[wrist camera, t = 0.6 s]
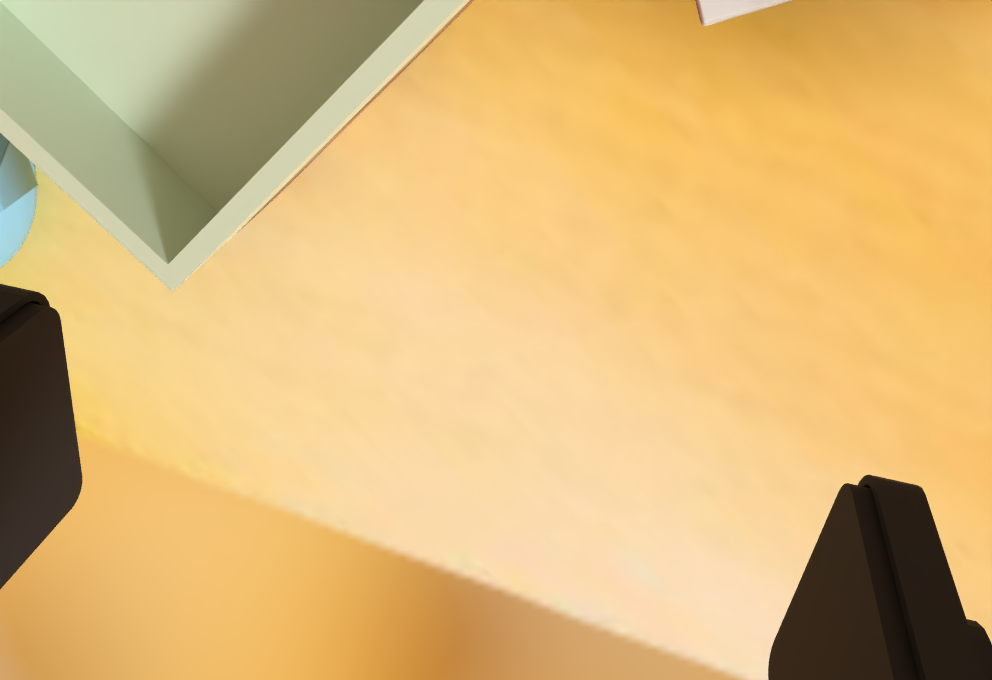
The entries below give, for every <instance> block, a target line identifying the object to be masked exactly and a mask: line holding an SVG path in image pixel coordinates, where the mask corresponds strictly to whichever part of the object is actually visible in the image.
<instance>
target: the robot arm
mask: <svg viewBox="0 0 992 680" xmlns="http://www.w3.org/2000/svg"><path fill="white" fill-rule="evenodd" d="M81 487H82V472H81V464H80V457H79V451H78V442H77V435H76V428H75V421H74V413H73V406H72V399H71V392H70V384H69V377H68V370H67V362H66V355H65V348H64V341H63V333H62V326H61V320H60V316H59V313H58V312H57V311H56V310H55V309H54V308H52V307H50V305H49V302H48V300H47V299H46V297H45V296H44V295H42V294H41V293H39V292H35V291H30V290H26V289H21V288H17V287H12V286H8V285H3V284H0V589H1V588H2V587H3V586H4V584H5V583H6V582H7V581H8V580H9V579H10V578H11V577H12V575H13V574H14V573H15V572H16V571H17V570H18V569H19V567H20V566H21V565H22V564H23V563H24V562H25V561H26V559H27V558H28V557H29V556H30V555H31V554H32V553H33V552H34V550H35V549H36V548H37V547H38V546H39V545H40V544H41V543H42V541H43V540H44V539H45V538H46V537H47V536H48V535H49V534H50V532H51V531H52V530H53V529H54V528H55V527H56V525H57V524H58V523H59V522H60V521H61V520H62V519H63V518H64V517H65V515H66V514H67V513H68V512H69V511H70V510H71V509H72V507H73V506H74V504H75V503H76V501H77V499H78V496H79V494H80V491H81ZM768 677H769V680H992V644H991V642H990V639H989V637H988V635H987V633H986V631H985V629H984V628H983V627H982V626H981V625H980V624H978V623H977V622H976V621H972V620H968V619H966V617H965V614H964V611H963V608H962V605H961V602H960V599H959V596H958V592H957V589H956V586H955V583H954V580H953V577H952V574H951V571H950V568H949V565H948V562H947V559H946V556H945V553H944V550H943V547H942V544H941V541H940V538H939V535H938V531H937V528H936V525H935V522H934V519H933V516H932V513H931V510H930V507H929V504H928V501H927V498H926V495H925V493H924V491H923V489H922V488H921V487H919V486H918V485H913V484H909V483H904V482H900V481H895V480H891V479H886V478H881V477H877V476H872V475H866V476H864V477H863V478H862V479H861V480H860V482H859V484H858V486H857V485H853V484H848V483H846V484H844V485H843V486H842V487H841V489H840V491H839V493H838V495H837V497H836V499H835V502H834V504H833V506H832V508H831V511H830V513H829V515H828V518H827V520H826V522H825V525H824V527H823V529H822V532H821V534H820V536H819V538H818V541H817V543H816V545H815V548H814V550H813V552H812V555H811V557H810V559H809V562H808V564H807V566H806V569H805V571H804V573H803V575H802V578H801V580H800V582H799V585H798V587H797V589H796V592H795V594H794V596H793V599H792V601H791V603H790V605H789V608H788V610H787V612H786V615H785V617H784V619H783V622H782V624H781V626H780V629H779V631H778V633H777V635H776V638H775V640H774V643H773V646H772V649H771V653H770V659H769V668H768Z"/></svg>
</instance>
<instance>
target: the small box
mask: <svg viewBox="0 0 992 680" xmlns="http://www.w3.org/2000/svg"><path fill="white" fill-rule="evenodd" d="M695 1H696V5H697V9H698V13H699V18H700V21H701V24H702V25H703V26H708V25H711V24H714V23H718V22H721V21H724V20H728V19H731V18H734V17H738V16H741V15H745V14H748V13H752V12H755V11H758V10H762V9H765V8H769V7H772V6H775V5H778V4H782V3H785V2H788V1H792V0H695Z"/></svg>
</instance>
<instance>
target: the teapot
mask: <svg viewBox="0 0 992 680" xmlns="http://www.w3.org/2000/svg"><path fill="white" fill-rule="evenodd" d="M37 186H38V184H37V181H36V173H35V164H34V163H33V162H31V161H30V160H29V159H28V158H27V157H26V156H25V155H24V154H23V153H22V152H21V151H20V150H18V149H17V148H16V147H15V146H14V145H13V144H12V143H11V142H10V141H9V140H8V139H7V138H6V137H4V136H3V135H2V134H1V133H0V268H1V267H2V266H3V265H5V264H6V263H7V262H8V261H10V260H11V259H12V257H13V256H14V255H15V254H16V253H17V251H18V250H19V249H20V247H21V245H22V243H23V242H24V240H25V238H26V236H27V234H28V233H29V230H30V227H31V224H32V222H33V219H34V213H35V208H36V195H37Z"/></svg>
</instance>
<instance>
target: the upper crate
mask: <svg viewBox="0 0 992 680" xmlns="http://www.w3.org/2000/svg"><path fill="white" fill-rule="evenodd" d="M469 1H470V0H0V133H1V134H2V135H3V136H4V137H6V138H7V139H8V140H9V141H10V142H11V143H12V144H13V145H14V146H15V147H16V148H17V149H18V150H20V151H21V152H22V153H23V154H24V155H25V156H26V157H27V158H28V159H29V160H30V161H31V162H33V163H34V164H35V165H36V166H37V167H38V168H39V169H40V170H41V171H42V172H43V173H44V174H46V175H47V176H48V177H49V178H50V179H51V180H52V181H53V182H54V183H55V184H56V185H57V186H59V187H60V188H61V189H62V190H63V191H64V192H65V193H66V194H67V195H68V196H69V197H70V198H72V199H73V200H74V201H75V202H76V203H77V204H78V205H79V206H80V207H81V208H82V209H83V210H85V211H86V212H87V213H88V214H89V215H90V216H91V217H92V218H93V219H94V220H95V221H96V222H97V223H99V224H100V225H101V226H102V227H103V228H104V229H105V230H106V231H107V232H108V233H109V234H110V235H112V236H113V237H114V238H115V239H116V240H117V241H118V242H119V243H120V244H121V245H122V246H123V247H125V248H126V249H127V250H128V251H129V252H130V253H131V254H132V255H133V256H134V257H135V258H136V259H138V260H139V261H140V262H141V263H142V264H143V265H144V266H145V267H146V268H147V269H148V270H149V271H151V272H152V273H153V274H154V275H155V276H156V277H157V278H158V279H159V280H160V281H161V282H162V283H164V284H165V285H166V286H167V287H168V288H169V289H170V290H171V291H172V292H173V291H174V290H176V289H177V288H178V287H179V286H180V285H181V284H182V283H183V282H184V281H185V280H186V279H188V278H189V277H190V276H191V275H192V274H193V273H194V272H195V271H196V270H197V269H198V268H199V267H201V266H202V265H203V264H204V263H205V262H206V261H207V260H208V259H209V258H210V257H211V256H212V255H214V254H215V253H216V252H217V251H218V250H219V249H220V248H221V247H222V246H223V245H224V244H226V243H227V242H228V241H229V240H230V239H231V238H232V237H233V236H234V235H235V234H236V233H237V232H238V231H239V230H240V229H241V228H242V227H243V226H244V225H245V224H246V223H247V222H248V221H249V220H250V219H251V218H252V217H253V216H254V215H255V214H256V213H257V212H258V211H259V210H260V209H261V208H262V207H263V206H264V205H265V204H266V203H267V202H268V201H269V200H270V199H271V198H272V197H273V196H274V195H275V194H276V193H277V192H278V191H279V190H280V189H281V188H282V187H283V186H284V185H285V184H286V183H287V182H288V181H289V180H290V179H291V178H292V177H293V176H294V175H295V174H296V173H297V172H298V171H299V170H300V169H301V168H302V167H303V166H304V165H305V164H306V163H307V162H308V161H309V160H310V159H311V158H312V157H313V156H314V155H315V154H317V153H318V152H319V151H320V150H321V149H322V148H323V147H324V146H325V145H326V144H327V143H328V142H329V141H330V140H331V139H332V138H333V137H334V136H335V135H336V134H337V133H338V132H339V131H340V130H341V129H342V128H343V127H344V126H345V125H346V124H347V123H348V122H349V121H350V120H351V119H352V118H353V117H354V116H355V115H356V114H357V113H358V112H359V111H360V110H361V109H362V108H363V107H364V106H365V105H366V104H367V103H368V102H369V101H370V100H371V99H372V98H373V97H374V96H375V95H376V94H377V93H378V92H379V91H380V90H381V89H382V88H383V87H384V86H385V85H386V84H387V83H388V82H389V81H390V80H391V79H392V78H393V77H394V76H395V75H396V74H397V73H398V72H399V71H400V70H401V69H402V68H403V67H404V66H405V65H406V64H407V63H408V62H409V61H410V60H411V59H412V58H413V57H414V56H415V55H416V54H417V53H418V52H419V51H420V50H421V49H422V48H423V47H424V46H425V45H426V44H427V43H428V42H429V41H430V40H431V39H432V38H433V37H434V36H435V35H436V34H437V33H438V32H439V31H440V30H441V29H442V28H443V27H444V26H445V25H446V24H447V23H448V22H449V21H450V20H451V19H452V18H453V17H454V16H455V15H456V14H457V13H458V12H459V11H460V10H461V9H462V8H463V7H464V6H465V5H466V4H467V3H468V2H469Z"/></svg>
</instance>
